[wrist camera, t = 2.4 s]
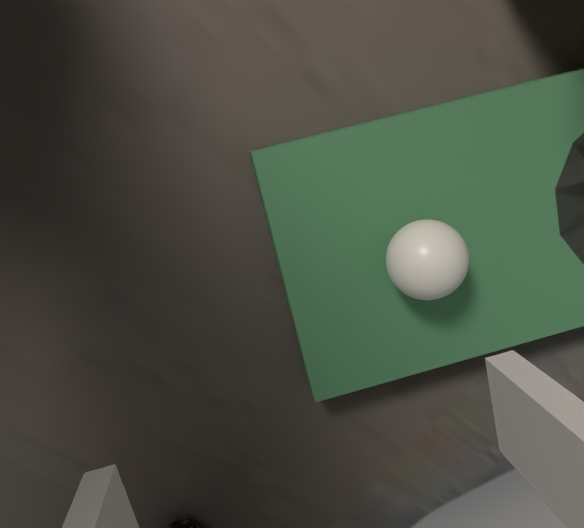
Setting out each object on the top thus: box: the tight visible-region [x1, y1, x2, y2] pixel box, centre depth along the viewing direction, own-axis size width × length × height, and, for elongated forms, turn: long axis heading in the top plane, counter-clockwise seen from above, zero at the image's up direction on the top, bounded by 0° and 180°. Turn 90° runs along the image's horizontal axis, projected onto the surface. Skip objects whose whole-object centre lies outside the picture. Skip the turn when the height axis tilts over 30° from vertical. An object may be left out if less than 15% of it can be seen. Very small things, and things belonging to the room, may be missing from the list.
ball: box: [386, 219, 469, 300], centre depth 26 cm, size 4×4×4 cm
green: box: [249, 67, 584, 403], centre depth 30 cm, size 26×14×2 cm, turn 104°
